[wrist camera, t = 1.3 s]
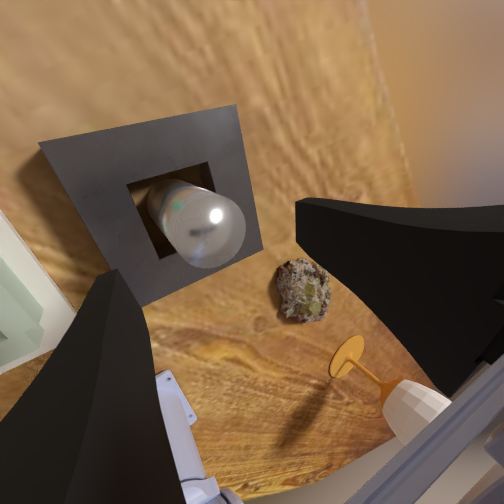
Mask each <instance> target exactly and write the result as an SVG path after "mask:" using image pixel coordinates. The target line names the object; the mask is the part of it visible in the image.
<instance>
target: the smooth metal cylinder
mask: <svg viewBox="0 0 504 504" xmlns="http://www.w3.org/2000/svg"><path fill="white" fill-rule="evenodd" d="M147 209H148V212H149V214H150V216H151V218H152V219H153V221H154V222H155V223H156V225H157V226H158V227H159V228H160V230H161V231H162V232H163V234H164V235H165V236H166V237H167V239H168V240H169V241H170V243H171V244H172V245H173V246H174V248H175V249H176V250H177V252H178V253H179V254H180V256H181V257H182V258H183V259H184V260H185V261H186V262H188V263H189V264H191V265H193V266H195V267H199V268H214V267H218V266H220V265H223V264H224V263H226V262H228V261H229V260H230V259H232V258H233V257H234V256H235V255H236V253H237V252H238V251H239V249H240V248H241V246H242V243H243V241H244V238H245V232H246V224H245V219H244V215H243V213H242V211H241V210H240V208H239V207H238V206H237V204H235V203H234V202H233V201H232V200H230V199H228V198H226V197H224V196H221V195H219V194H216V193H213V192H211V191H208V190H206V189H203V188H200V187H198V186H195V185H193V184H190V183H188V182H185V181H182V180H179V179H165V180H163V181H160V182H159V183H157V184H156V185H155V186H154V187H153V188H152V189H151V191H150V193H149V195H148V198H147Z"/></svg>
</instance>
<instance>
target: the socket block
mask: <svg viewBox="0 0 504 504" xmlns="http://www.w3.org/2000/svg"><path fill="white" fill-rule="evenodd" d="M38 144H39V146H40V147H41V149H42V151H43V153H44V154H45V156H46V158H47V160H48V161H49V163H50V165H51V166H52V168H53V170H54V172H55V173H56V175H57V177H58V179H59V180H60V182H61V184H62V186H63V187H64V189H65V191H66V192H67V194H68V196H69V198H70V199H71V201H72V203H73V205H74V206H75V208H76V210H77V212H78V213H79V215H80V217H81V218H82V220H83V222H84V224H85V225H86V227H87V229H88V231H89V232H90V234H91V236H92V238H93V239H94V241H95V243H96V244H97V246H98V248H99V250H100V251H101V253H102V255H103V257H104V258H105V260H106V262H107V264H108V265H109V267H110V269H111V270H115V269H117V268H118V270H119V272H120V273H121V275H122V277H123V278H124V280H125V282H126V283H127V285H128V287H129V288H130V290H131V292H132V293H133V295H134V297H135V298H136V300H137V302H138V303H139V305H140V307H143V306H146V305H148V304H150V303H152V302H154V301H156V300H158V299H160V298H162V297H164V296H167V295H169V294H171V293H173V292H175V291H177V290H179V289H181V288H183V287H186V286H188V285H190V284H192V283H194V282H196V281H198V280H200V279H202V278H204V277H207V276H209V275H211V274H213V273H215V272H217V271H219V270H221V269H223V268H225V267H228V266H230V265H232V264H234V263H236V262H238V261H240V260H242V259H244V258H246V257H249V256H251V255H253V254H255V253H257V252H259V251H261V250H263V245H262V240H261V234H260V229H259V224H258V218H257V213H256V208H255V203H254V197H253V192H252V187H251V181H250V176H249V171H248V166H247V160H246V155H245V150H244V144H243V139H242V134H241V129H240V123H239V118H238V113H237V107H236V104H235V105H229V106H224V107H219V108H214V109H209V110H204V111H198V112H193V113H188V114H183V115H178V116H173V117H167V118H162V119H157V120H152V121H147V122H142V123H136V124H131V125H126V126H121V127H116V128H111V129H105V130H100V131H95V132H90V133H85V134H80V135H74V136H69V137H64V138H59V139H54V140H49V141H43V142H38ZM197 164H198V168H199V171H200V175H201V178H202V182H203V185H204V189H206V190H208V191H211V192H213V193H216V194H219V195H221V196H224V197H226V198H228V199H230V200H232V201H233V202H234V203H235V204H237V206H238V207H239V208H240V210H241V211H242V213H243V215H244V219H245V224H246V232H245V238H244V241H243V243H242V246H241V248H240V249H239V251H238V252H237V253H236V255H235V256H234V257H233V258H232V259H230V260H229V261H228V262H226V263H224V264H223V265H220V266H218V267H214V268H199V267H195V266H193V265H191V264H189V263H188V262H186V261H185V260H184V259H183V258H182V257H181V256H180V254H179V253H178V252H177V250H176V249H175V248H174V246H173V245H172V244H171V243H170V242H168V243H166V244H163V245H161V246H158V247H156V248H154V246H153V244H152V242H151V240H150V237H149V235H148V233H147V231H146V228H145V226H144V224H143V222H142V219H141V217H140V215H139V213H138V210H137V208H136V206H135V204H134V201H133V199H132V197H131V195H130V192H129V190H128V188H127V186H126V184H129V183H133V182H136V181H140V180H143V179H147V178H150V177H154V176H157V175H161V174H165V173H168V172H172V171H175V170H179V169H182V168H186V167H189V166H193V165H197Z"/></svg>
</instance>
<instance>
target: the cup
mask: <svg viewBox="0 0 504 504" xmlns="http://www.w3.org/2000/svg"><path fill="white" fill-rule="evenodd" d="M363 349H364V339H363V337H361V336H359V335H357V336H353V337H351V338H349V339H348V340H346V341H345V342H344V343H343V344H342V345H341V346H340V347H339V348H338V350H337V351H336V353H335V354H334V356H333V358H332V361H331V363H330V369H329V372H330V374H331V376H332V377H335V378H338V377H341V376H343V375H345V374H346V373H347V372H349V371H350V370H351V369H352V368H353V366H355V367H357V368H358V369H359V370H360V371H361V372H362V373H364V374H365V375H366V376H367V377H368V378H370V379H371V380H372V381H373V382H374V383H376V384H377V385H378V386H379V387H380V389H381V396H380V402H381V407H382V412H383V415H384V417H385V419H386V420H387V422H388V424H389V426H390V428H391V429H392V430H393V432H394V433H395V435H396V436H397V437H398V439H399V440H400V441H401V442H402V443H403V444H404V446H406V445H407V444H408V443H409V442H410V441H411V440H412V439H413V438H414V437H416V436H417V435H418V434H419V433H420V432H421V431H422V430H423V429H424V428H425V427H426V426H427V425H428V424H429V423H430V422H432V421H433V420H434V419H435V418H436V417H437V416H438V415H439V414H440V413H441V412H442V411H443V410H444V409H445V408H446V407H448V406H449V405H450V404H451V403H452V402H451V401H450V400H448V399H447V398H445V397H444V396H442V395H440V394H439V393H437V392H435V391H434V390H432V389H429V388H427V387H425V386H423V385H421V384H419V383H416V382H412V381H409V380H393V381H391V382H389V383H382V382H381V381H380V380H379V379H377V378H376V377H375V376H374V375H373V374H371V373H370V372H369V371H368V370H366V369H365V368H364V367H363V366H362V365H360V364H359V363H358V362H357V361H358V360H359V358H360V356H361V354H362V352H363Z"/></svg>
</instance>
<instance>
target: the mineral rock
mask: <svg viewBox="0 0 504 504" xmlns="http://www.w3.org/2000/svg"><path fill="white" fill-rule="evenodd" d="M327 274H328V271H326V270H325V269H323V268H322V267H320V266H318V265H317V264H315V263H313V262H308V261H307V260H306V259H304V258H302V259H300V258H299V259H298V260H297V261H294V260H293V261H292V260H290V261H289V262H288V264H287V265H286V266H280V267H279V275H278V277H277V278H276V287H277V289H278V292H279V293H280V294H281V297H282V305H281V307H280V310H281V314H282V315H284V316H285V318H288V317H293V318H294V321H295V322H303V323H305V322H313V321H321V320H322V318H324V317H325V314H326V313H327V312H328V311H327V308H328V306H329V304H330V302H331V301H330V294H331V293H330V288H329V287H328V285H327V282H329V281H330V278H329V277H327Z"/></svg>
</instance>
